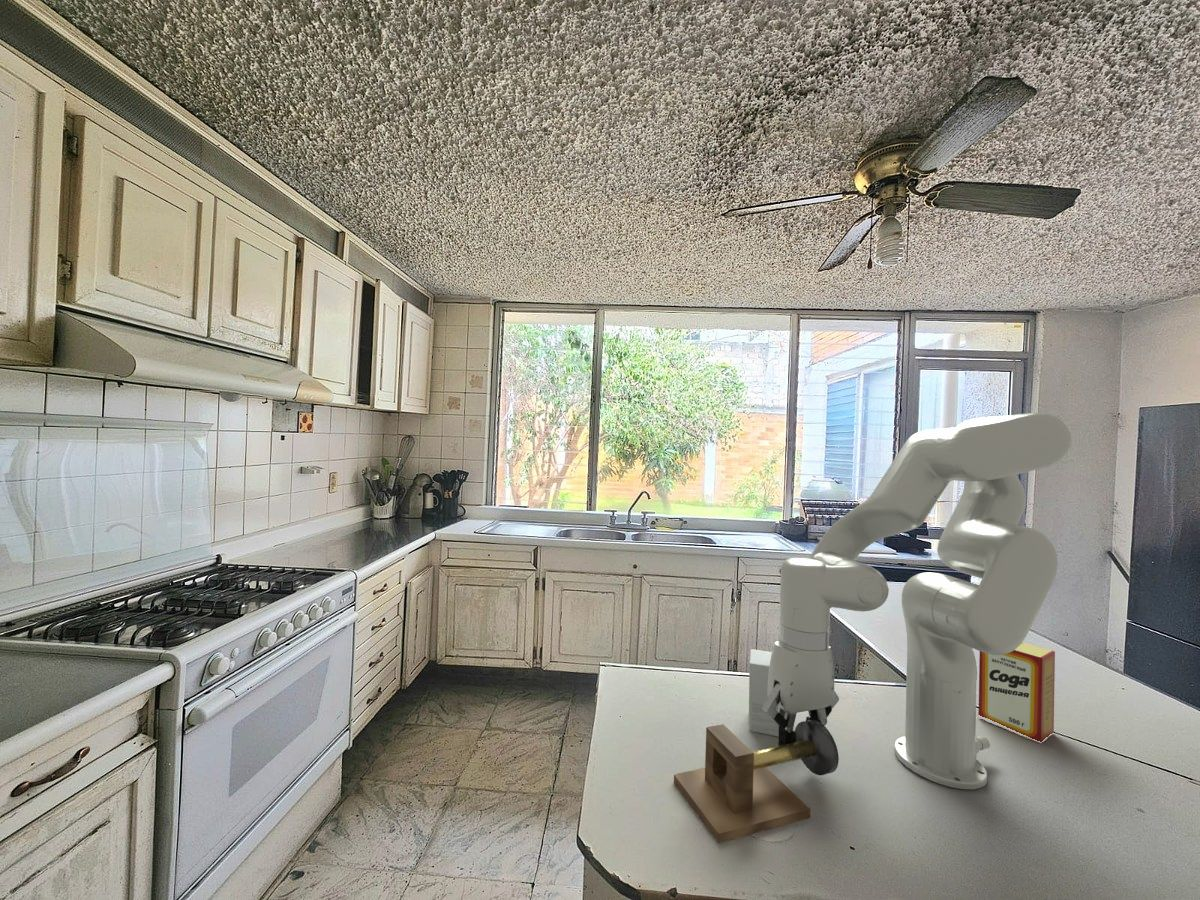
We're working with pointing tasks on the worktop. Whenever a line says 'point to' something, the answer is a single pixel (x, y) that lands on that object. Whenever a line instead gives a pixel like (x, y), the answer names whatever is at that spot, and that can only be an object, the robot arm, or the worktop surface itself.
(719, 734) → the eye post
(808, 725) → the brass peg with disc
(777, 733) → the supplement box
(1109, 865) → the worktop surface
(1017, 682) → the baking soda box
